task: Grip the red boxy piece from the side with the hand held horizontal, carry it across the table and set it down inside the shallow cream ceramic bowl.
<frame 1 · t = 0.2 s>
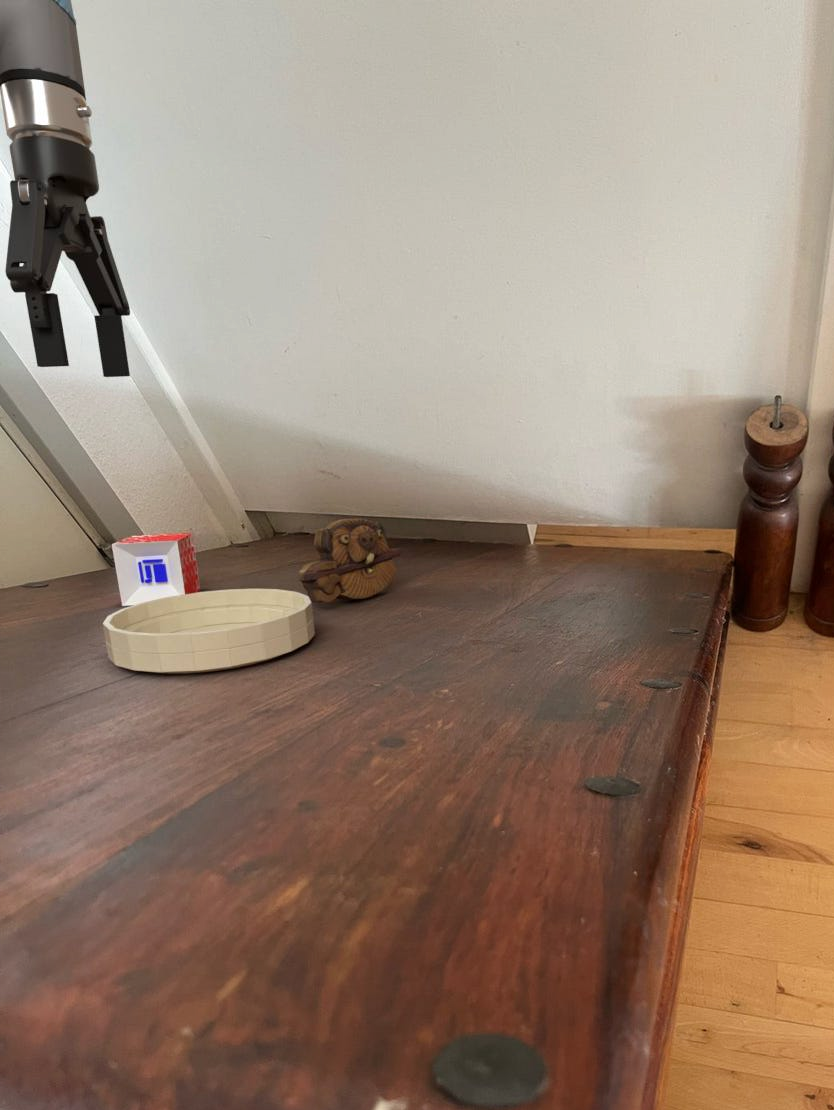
hand: (87, 372, 82), 27 cm above the table, tool pointing down, fingers open, 13 cm apart
bowl: (216, 647, 77), on the table
red boxy piece: (162, 599, 102), on the table
wooden carving: (358, 601, 96), on the table
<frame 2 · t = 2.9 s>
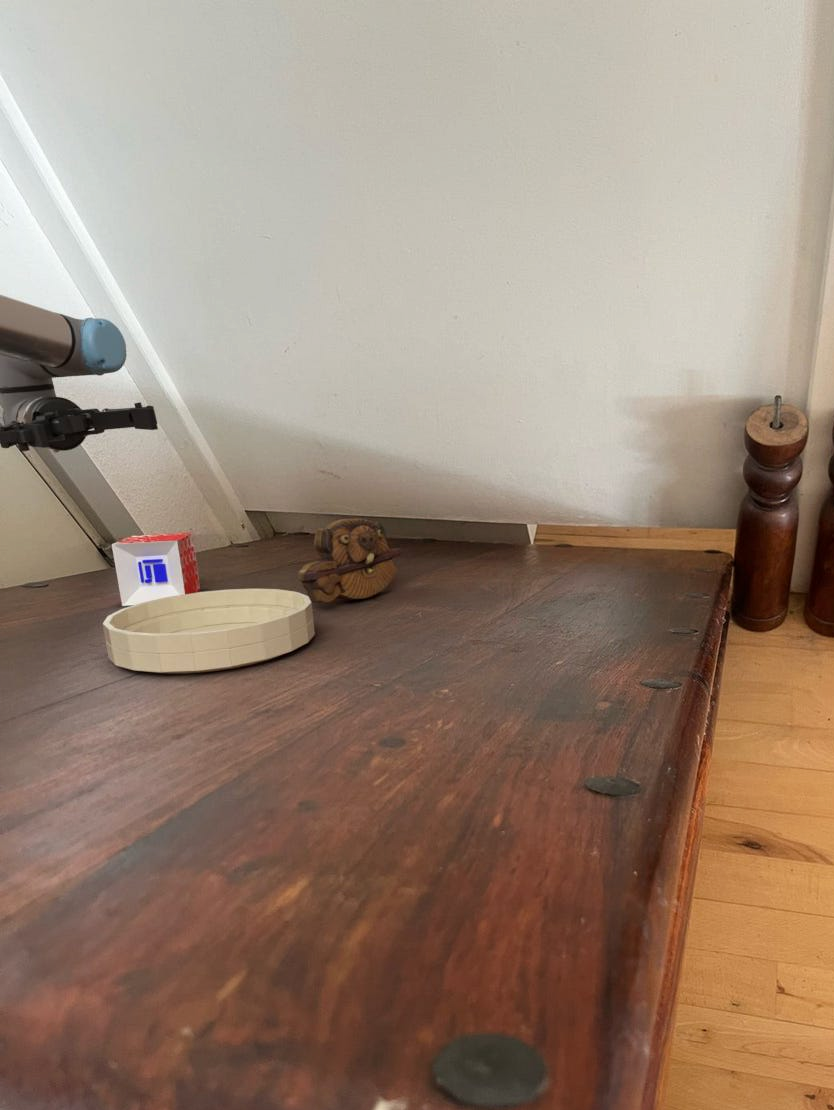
hand: (100, 427, 99), 22 cm above the table, tool horizontal, fingers open, 13 cm apart
nothing on the table moved.
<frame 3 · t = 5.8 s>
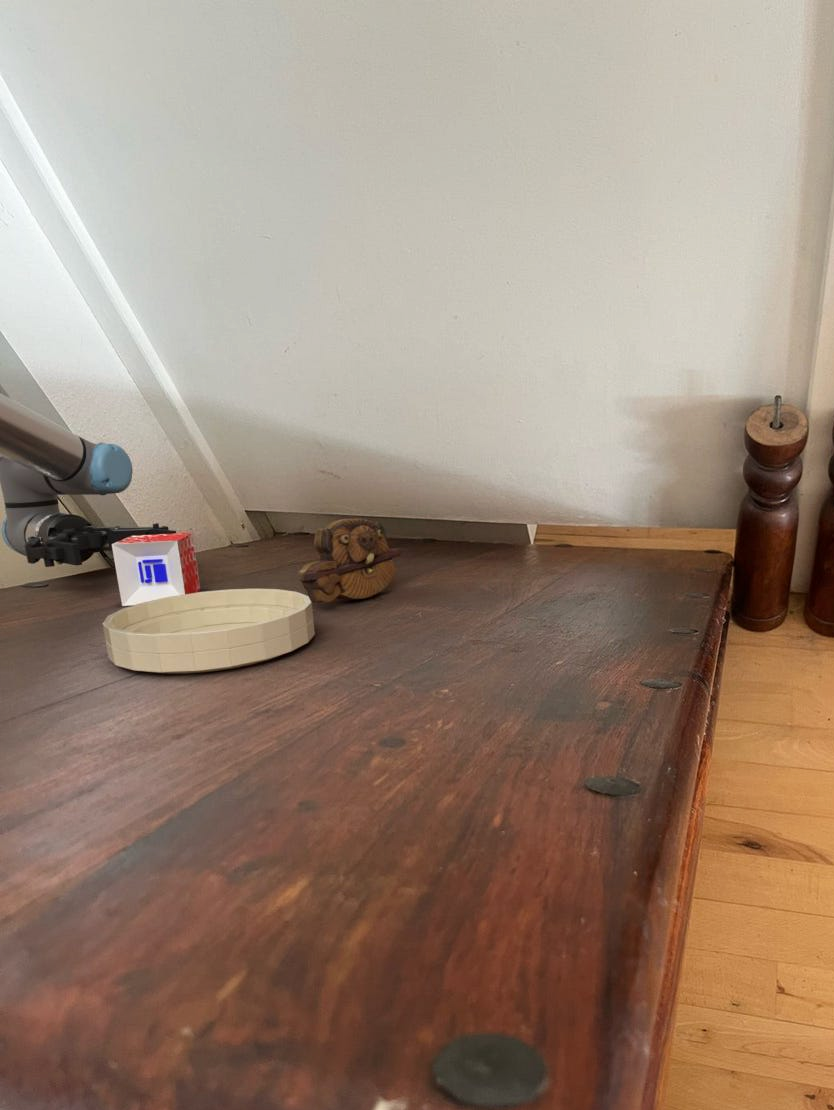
hand: (128, 547, 105), 6 cm above the table, tool horizontal, fingers open, 13 cm apart
nothing on the table moved.
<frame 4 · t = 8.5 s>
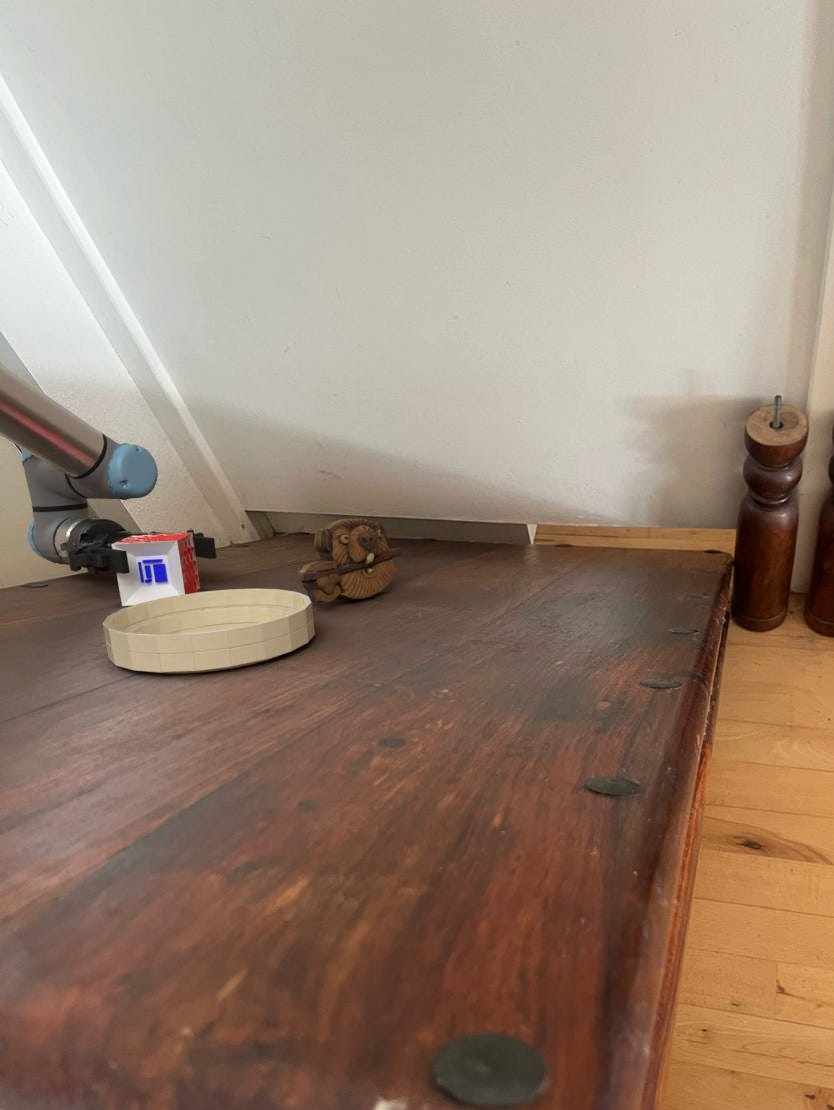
hand: (171, 555, 98), 6 cm above the table, tool horizontal, fingers closed on red boxy piece, 11 cm apart
red boxy piece: (162, 599, 102), on the table, touching gripper
everything else where it was.
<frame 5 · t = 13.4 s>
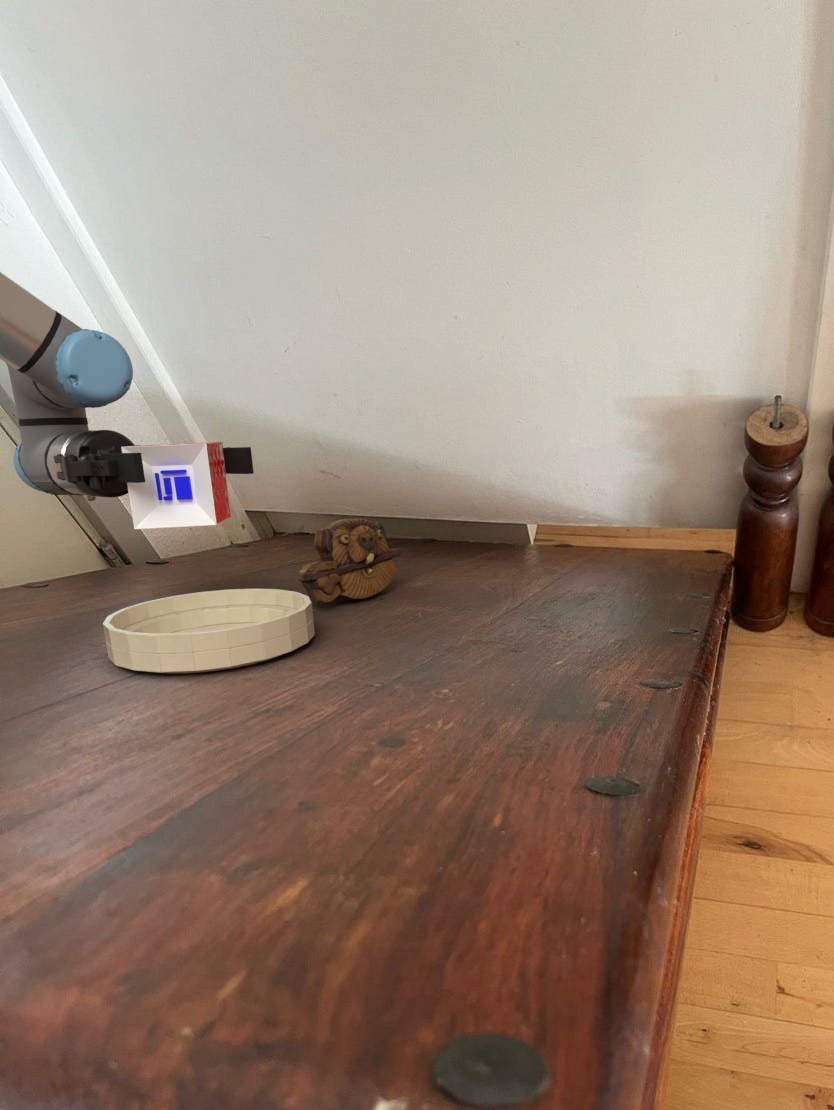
hand: (197, 463, 76), 18 cm above the table, tool horizontal, fingers closed on red boxy piece, 11 cm apart
red boxy piece: (185, 524, 80), point 12 cm above the table, touching gripper
everything else where it was.
when the fingers open (7 cm above the table, at t = 18.3 s): red boxy piece stays where it is, resting on bowl.
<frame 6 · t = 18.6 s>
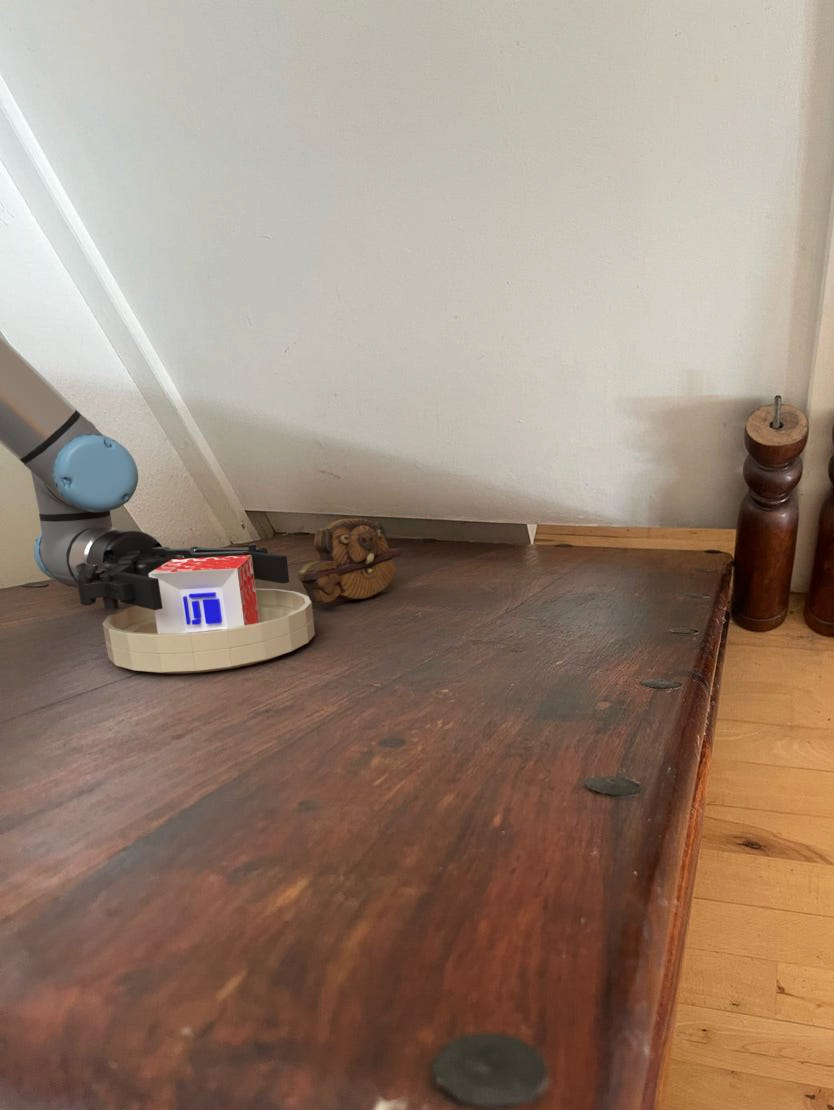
hand: (225, 581, 73), 7 cm above the table, tool horizontal, fingers open, 13 cm apart
red boxy piece: (213, 644, 77), resting on bowl
everything else where it was.
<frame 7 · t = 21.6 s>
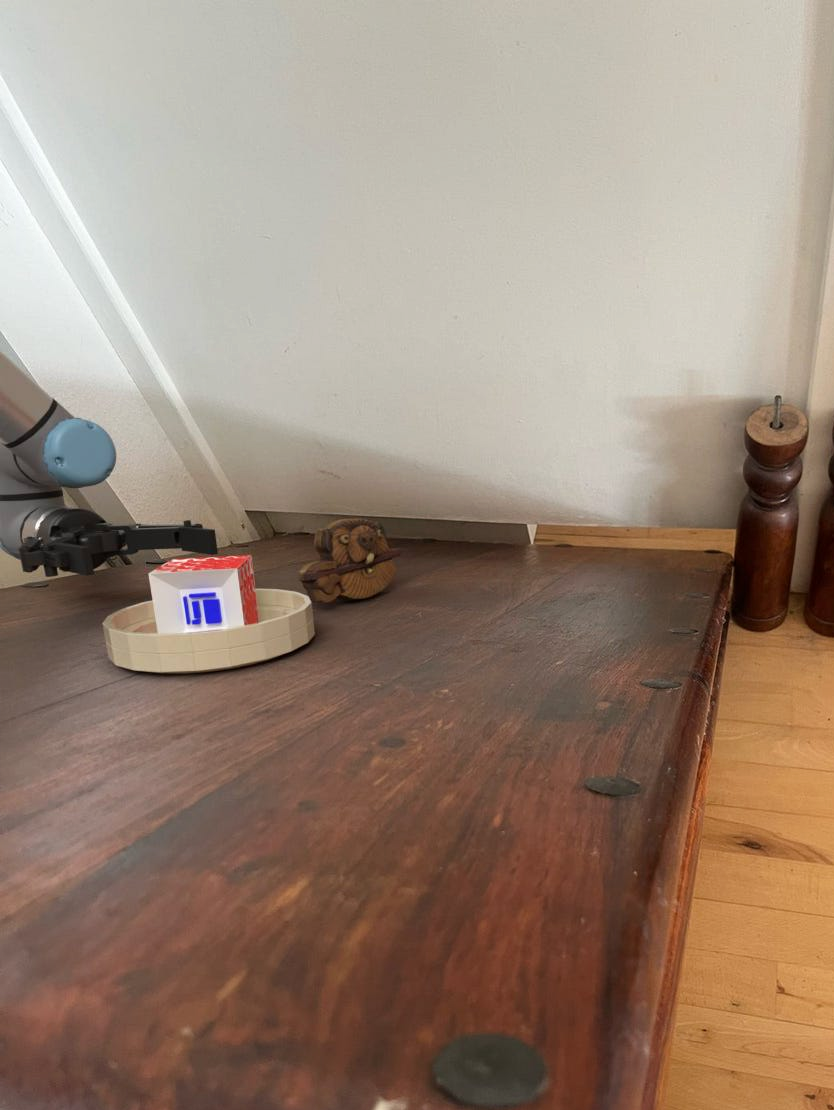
hand: (154, 551, 80), 9 cm above the table, tool horizontal, fingers open, 13 cm apart
nothing on the table moved.
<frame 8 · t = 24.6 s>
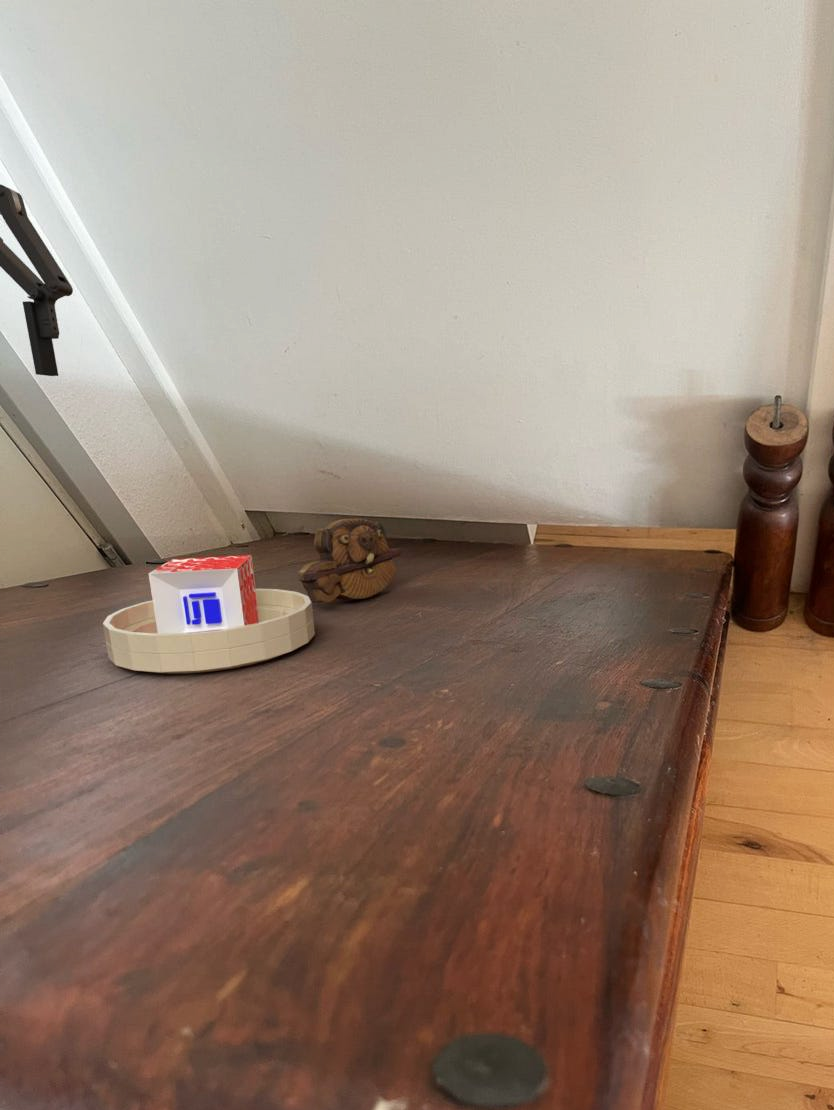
nothing on the table moved.
at the end: red boxy piece inside the target area in the bowl (0.2 cm from its centre), point 0.4 cm above the bowl's base; red boxy piece tilted 0°; the gripper is holding nothing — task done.
